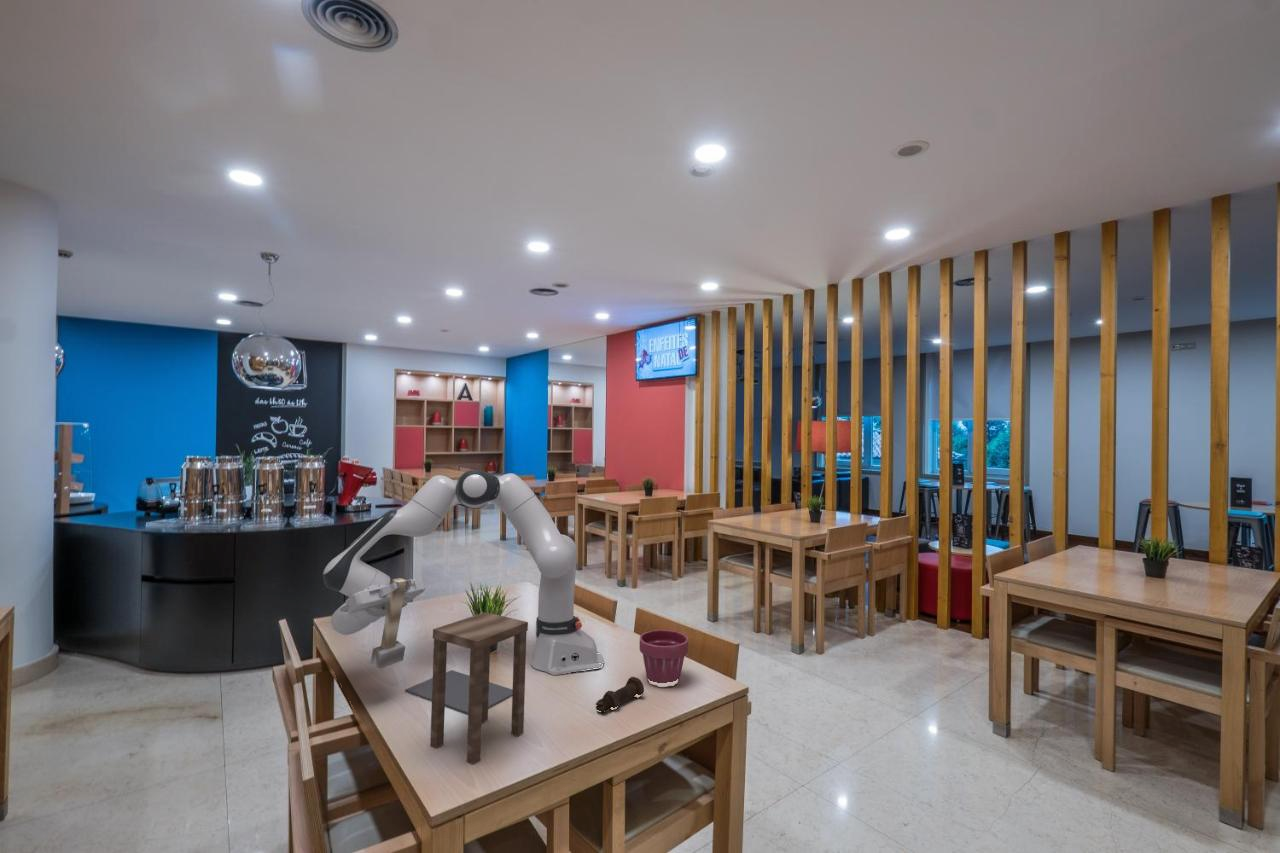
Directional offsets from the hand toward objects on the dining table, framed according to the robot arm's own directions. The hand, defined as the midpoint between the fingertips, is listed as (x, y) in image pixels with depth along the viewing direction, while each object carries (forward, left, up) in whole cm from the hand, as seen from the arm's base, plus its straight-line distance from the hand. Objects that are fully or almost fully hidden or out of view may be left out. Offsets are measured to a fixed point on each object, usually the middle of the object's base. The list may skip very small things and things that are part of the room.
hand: (404, 583), depth 146 cm
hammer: (+4, -3, -9) cm, 10 cm away
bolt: (-56, +4, -32) cm, 65 cm away
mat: (-14, -8, -32) cm, 36 cm away
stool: (-21, +18, -32) cm, 42 cm away
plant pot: (-71, -9, -32) cm, 78 cm away
